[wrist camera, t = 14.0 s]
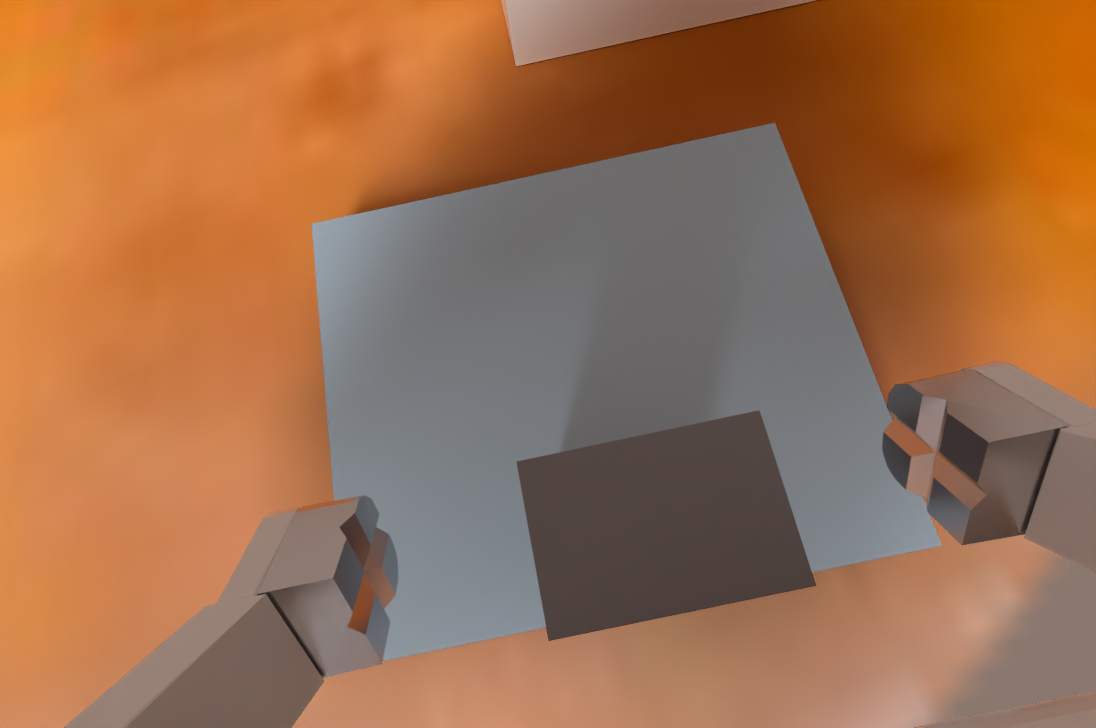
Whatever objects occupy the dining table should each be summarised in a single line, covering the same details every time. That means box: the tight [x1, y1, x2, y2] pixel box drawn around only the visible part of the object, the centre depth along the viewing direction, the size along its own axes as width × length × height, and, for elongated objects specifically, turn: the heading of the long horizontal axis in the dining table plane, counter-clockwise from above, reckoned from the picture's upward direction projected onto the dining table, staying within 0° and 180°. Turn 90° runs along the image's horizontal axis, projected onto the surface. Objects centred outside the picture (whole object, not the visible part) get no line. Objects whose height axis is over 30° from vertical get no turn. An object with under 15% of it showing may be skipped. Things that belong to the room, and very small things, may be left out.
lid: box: [312, 123, 942, 661], centre depth 12 cm, size 14×12×9 cm
